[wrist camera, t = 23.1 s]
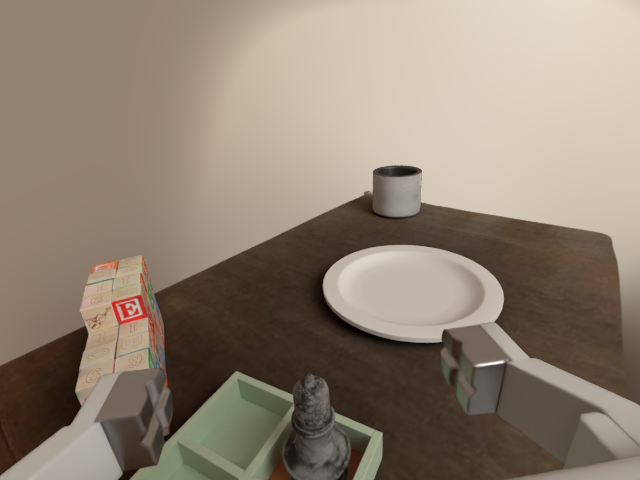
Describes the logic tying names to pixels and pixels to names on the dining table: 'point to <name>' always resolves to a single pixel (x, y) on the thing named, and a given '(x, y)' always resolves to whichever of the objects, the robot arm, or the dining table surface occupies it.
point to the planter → (397, 191)
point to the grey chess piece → (315, 435)
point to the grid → (249, 438)
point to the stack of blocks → (120, 323)
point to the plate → (411, 292)
